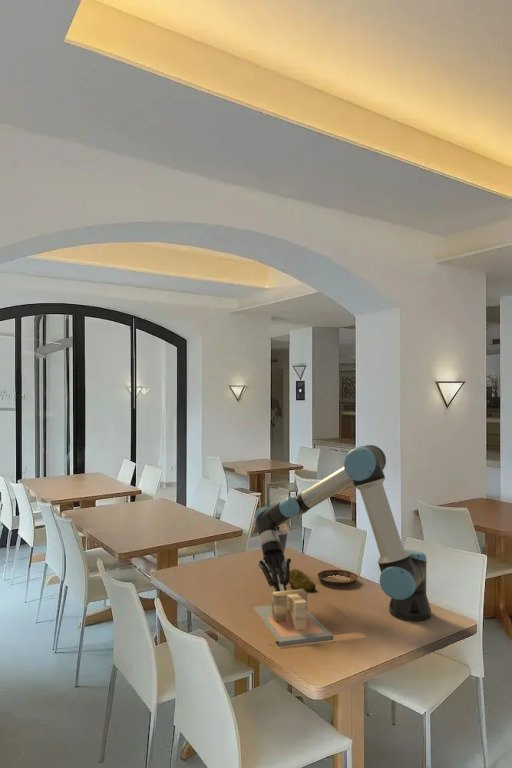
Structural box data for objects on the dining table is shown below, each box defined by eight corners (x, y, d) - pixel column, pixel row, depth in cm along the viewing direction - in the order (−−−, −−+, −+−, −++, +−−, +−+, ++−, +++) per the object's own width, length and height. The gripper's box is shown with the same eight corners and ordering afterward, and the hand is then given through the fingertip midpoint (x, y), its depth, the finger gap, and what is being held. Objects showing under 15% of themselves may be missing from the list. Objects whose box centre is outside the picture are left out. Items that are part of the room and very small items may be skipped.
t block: (271, 617, 190) (272, 592, 190) (302, 613, 194) (302, 588, 194) (284, 631, 179) (284, 604, 179) (316, 627, 183) (317, 600, 183)
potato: (300, 597, 214) (301, 577, 215) (284, 587, 226) (284, 568, 226) (317, 594, 218) (318, 574, 219) (300, 584, 230) (300, 566, 230)
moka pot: (292, 567, 253) (293, 525, 254) (276, 576, 240) (276, 531, 241) (275, 564, 258) (275, 522, 259) (258, 572, 245) (258, 528, 246)
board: (252, 611, 200) (252, 607, 200) (299, 606, 205) (299, 602, 205) (278, 646, 171) (278, 641, 171) (333, 639, 177) (333, 635, 177)
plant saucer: (310, 578, 239) (310, 571, 240) (344, 574, 246) (344, 567, 246) (329, 591, 223) (329, 583, 223) (365, 586, 229) (365, 579, 229)
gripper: (283, 548, 214) (298, 606, 198) (252, 550, 210) (264, 609, 194) (288, 538, 209) (303, 597, 193) (256, 540, 205) (269, 600, 189)
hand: (284, 603), depth 193 cm, fingers closed
